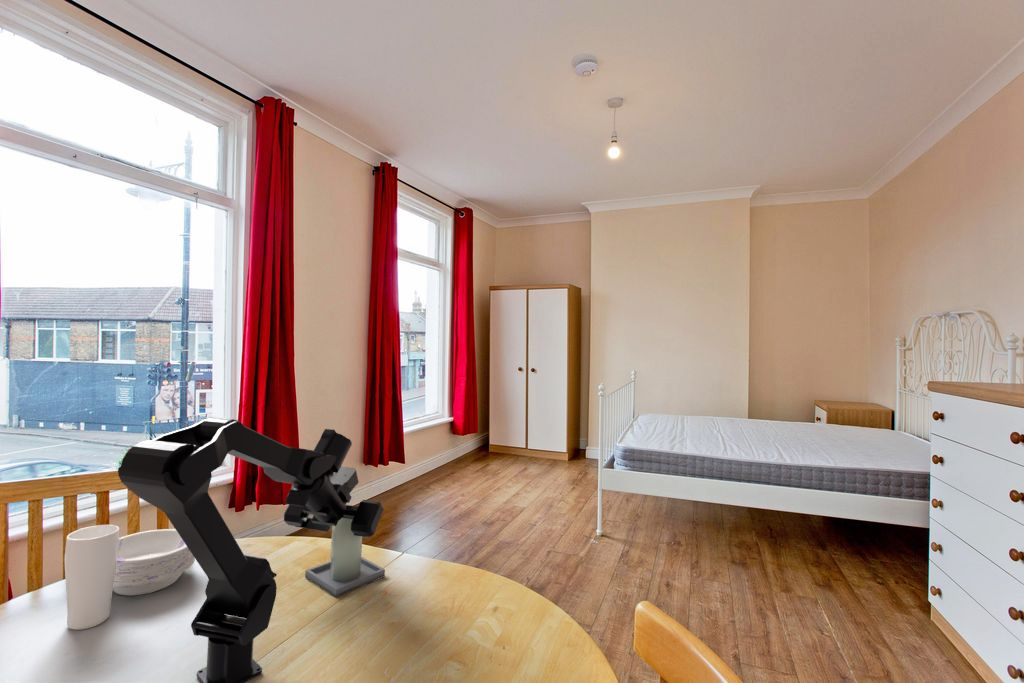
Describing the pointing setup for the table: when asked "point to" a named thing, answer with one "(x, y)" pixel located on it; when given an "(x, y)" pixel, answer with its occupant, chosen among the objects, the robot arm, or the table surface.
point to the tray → (338, 588)
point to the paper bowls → (150, 561)
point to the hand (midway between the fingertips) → (348, 532)
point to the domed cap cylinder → (345, 552)
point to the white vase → (90, 574)
